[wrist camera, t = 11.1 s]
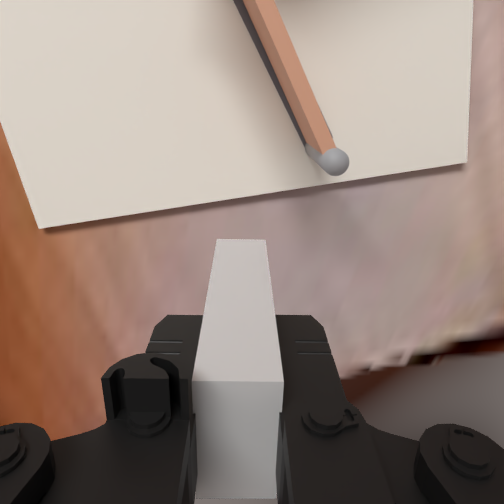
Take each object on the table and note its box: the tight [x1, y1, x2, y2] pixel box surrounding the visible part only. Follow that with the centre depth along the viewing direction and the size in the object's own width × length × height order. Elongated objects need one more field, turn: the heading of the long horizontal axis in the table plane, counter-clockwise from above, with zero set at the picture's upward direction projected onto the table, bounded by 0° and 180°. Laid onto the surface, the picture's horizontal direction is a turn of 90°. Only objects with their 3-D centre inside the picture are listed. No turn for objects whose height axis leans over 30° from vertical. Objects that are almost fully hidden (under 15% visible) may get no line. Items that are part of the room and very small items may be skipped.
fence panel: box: [243, 0, 349, 176], centre depth 23 cm, size 13×1×7 cm, turn 27°
